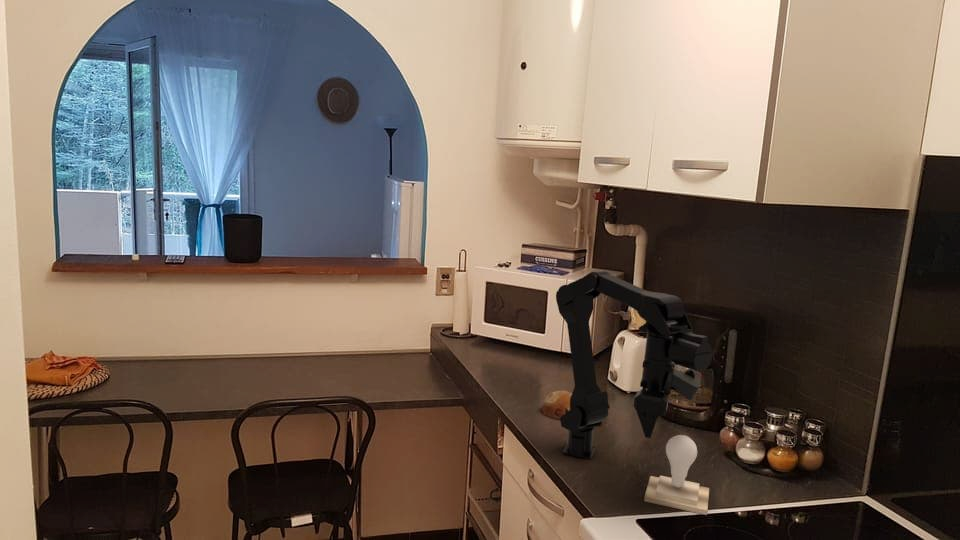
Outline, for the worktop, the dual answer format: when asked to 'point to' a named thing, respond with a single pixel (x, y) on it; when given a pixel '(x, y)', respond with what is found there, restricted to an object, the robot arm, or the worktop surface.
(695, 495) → the base
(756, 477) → the worktop surface
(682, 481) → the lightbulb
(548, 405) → the bread roll
